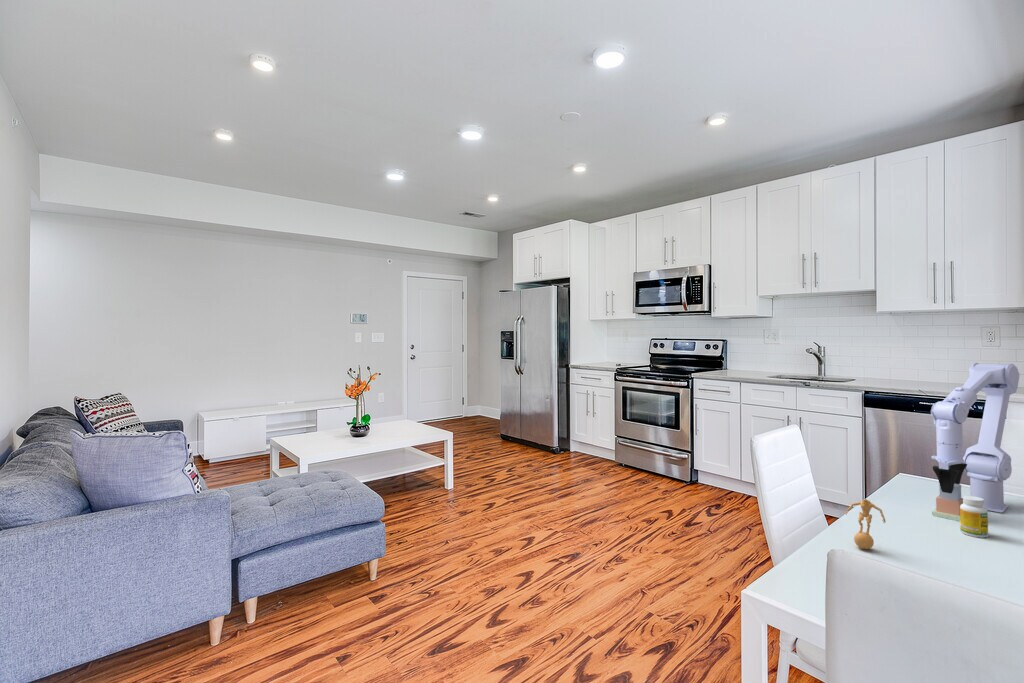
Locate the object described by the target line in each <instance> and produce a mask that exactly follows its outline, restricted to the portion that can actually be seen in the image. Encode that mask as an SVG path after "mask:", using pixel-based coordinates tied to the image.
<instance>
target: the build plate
mask: <svg viewBox="0 0 1024 683" xmlns="http://www.w3.org/2000/svg"><path fill="white" fill-rule="evenodd" d="M932 515H933V516H932ZM931 516H932V517H936V516H938V517H937V518H941V517H943V518H942V519H946V518H947V519H946V520H951V519H952V520H951V521H955V520H958V521H957V522H960V516H957V515H952V514H947V513H942V512H937V511H936V508H934V509H933V510H931Z"/></svg>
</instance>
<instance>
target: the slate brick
mask: <svg viewBox="0 0 1024 683" xmlns="http://www.w3.org/2000/svg"><path fill="white" fill-rule="evenodd" d="M938 484H939V495H940V498H943V499H948V500H953V501H959V500H960V499H961V498H962V484H961V483H960V484H954V488H953V492H952V493H945V492H942V490H941V487H940V483H938Z"/></svg>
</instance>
